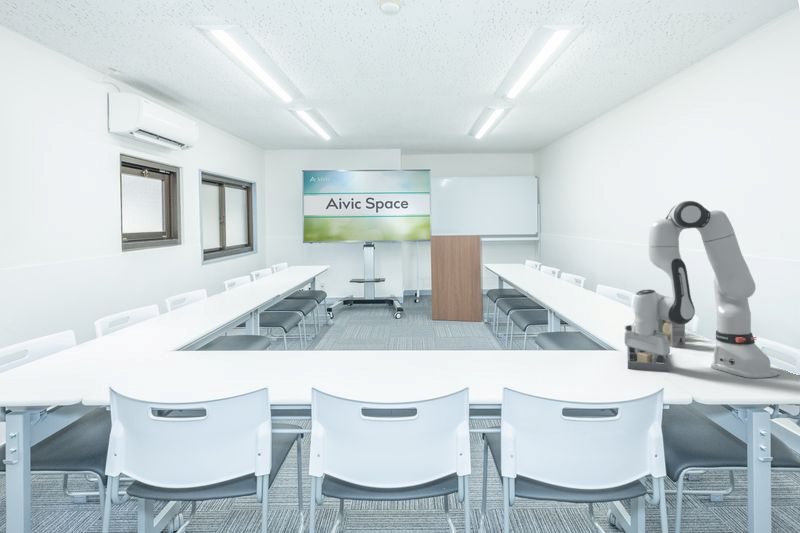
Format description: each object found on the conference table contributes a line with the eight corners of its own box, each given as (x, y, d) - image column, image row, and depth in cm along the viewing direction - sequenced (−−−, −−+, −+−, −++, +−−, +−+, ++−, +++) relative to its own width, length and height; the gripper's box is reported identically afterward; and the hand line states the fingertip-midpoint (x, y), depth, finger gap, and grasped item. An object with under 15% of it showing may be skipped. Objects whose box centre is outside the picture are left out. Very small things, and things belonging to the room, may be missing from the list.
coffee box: (661, 342, 230) (661, 310, 229) (675, 342, 230) (674, 310, 229) (672, 347, 221) (671, 314, 220) (686, 346, 221) (685, 313, 220)
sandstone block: (656, 365, 195) (656, 354, 195) (647, 367, 194) (646, 355, 193) (646, 362, 200) (646, 351, 200) (637, 364, 198) (637, 352, 198)
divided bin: (668, 371, 187) (668, 364, 187) (627, 368, 193) (627, 361, 193) (663, 353, 212) (663, 346, 212) (627, 351, 219) (627, 345, 219)
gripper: (673, 332, 187) (674, 366, 188) (632, 323, 206) (633, 354, 207) (661, 334, 185) (662, 368, 186) (621, 325, 204) (622, 356, 205)
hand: (646, 361), depth 197 cm, fingers closed on sandstone block, 5 cm apart
